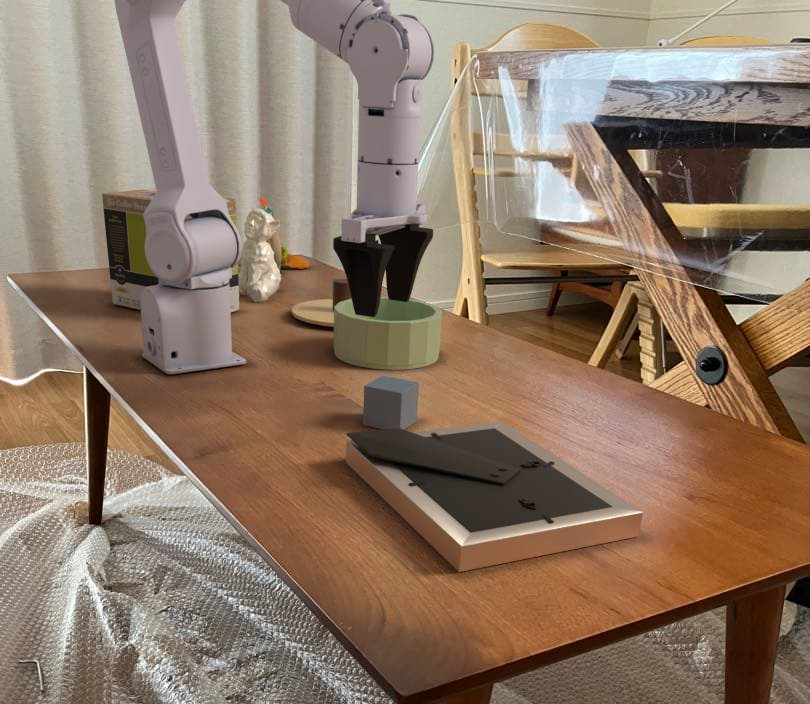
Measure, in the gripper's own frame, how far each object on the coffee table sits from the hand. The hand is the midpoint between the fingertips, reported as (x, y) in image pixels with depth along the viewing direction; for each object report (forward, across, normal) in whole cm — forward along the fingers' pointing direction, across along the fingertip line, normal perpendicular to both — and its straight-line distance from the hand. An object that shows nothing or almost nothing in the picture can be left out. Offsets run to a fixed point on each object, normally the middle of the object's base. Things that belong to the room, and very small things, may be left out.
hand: (382, 307), depth 92 cm
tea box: (+10, +19, +40) cm, 45 cm away
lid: (+9, +27, +19) cm, 34 cm away
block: (+10, -6, -4) cm, 12 cm away
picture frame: (+10, -18, -18) cm, 27 cm away
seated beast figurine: (+10, +33, +37) cm, 50 cm away
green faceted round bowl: (+10, +15, +6) cm, 19 cm away
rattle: (+10, +50, +42) cm, 66 cm away
